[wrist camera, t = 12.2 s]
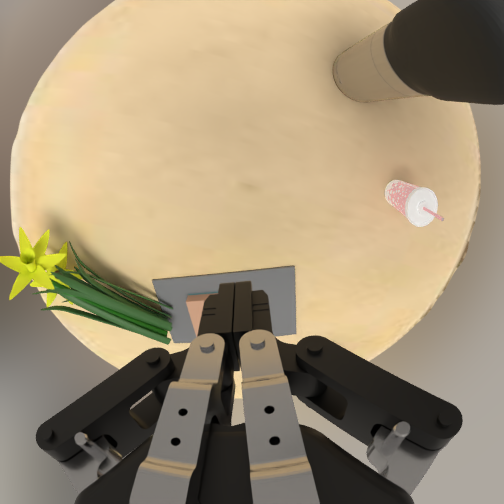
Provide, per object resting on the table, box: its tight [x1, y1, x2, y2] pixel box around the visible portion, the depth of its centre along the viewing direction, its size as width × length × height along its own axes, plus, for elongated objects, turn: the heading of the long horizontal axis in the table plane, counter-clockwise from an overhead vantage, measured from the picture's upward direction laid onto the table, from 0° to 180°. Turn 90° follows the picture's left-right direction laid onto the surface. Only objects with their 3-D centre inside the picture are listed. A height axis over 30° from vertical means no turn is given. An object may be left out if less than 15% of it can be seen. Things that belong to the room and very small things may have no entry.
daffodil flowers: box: [0, 227, 173, 345], centre depth 41 cm, size 17×15×35 cm
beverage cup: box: [385, 180, 444, 227], centre depth 36 cm, size 6×6×14 cm
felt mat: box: [152, 266, 296, 343], centre depth 51 cm, size 26×16×1 cm, turn 96°
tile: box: [186, 292, 218, 337], centre depth 50 cm, size 2×9×11 cm
